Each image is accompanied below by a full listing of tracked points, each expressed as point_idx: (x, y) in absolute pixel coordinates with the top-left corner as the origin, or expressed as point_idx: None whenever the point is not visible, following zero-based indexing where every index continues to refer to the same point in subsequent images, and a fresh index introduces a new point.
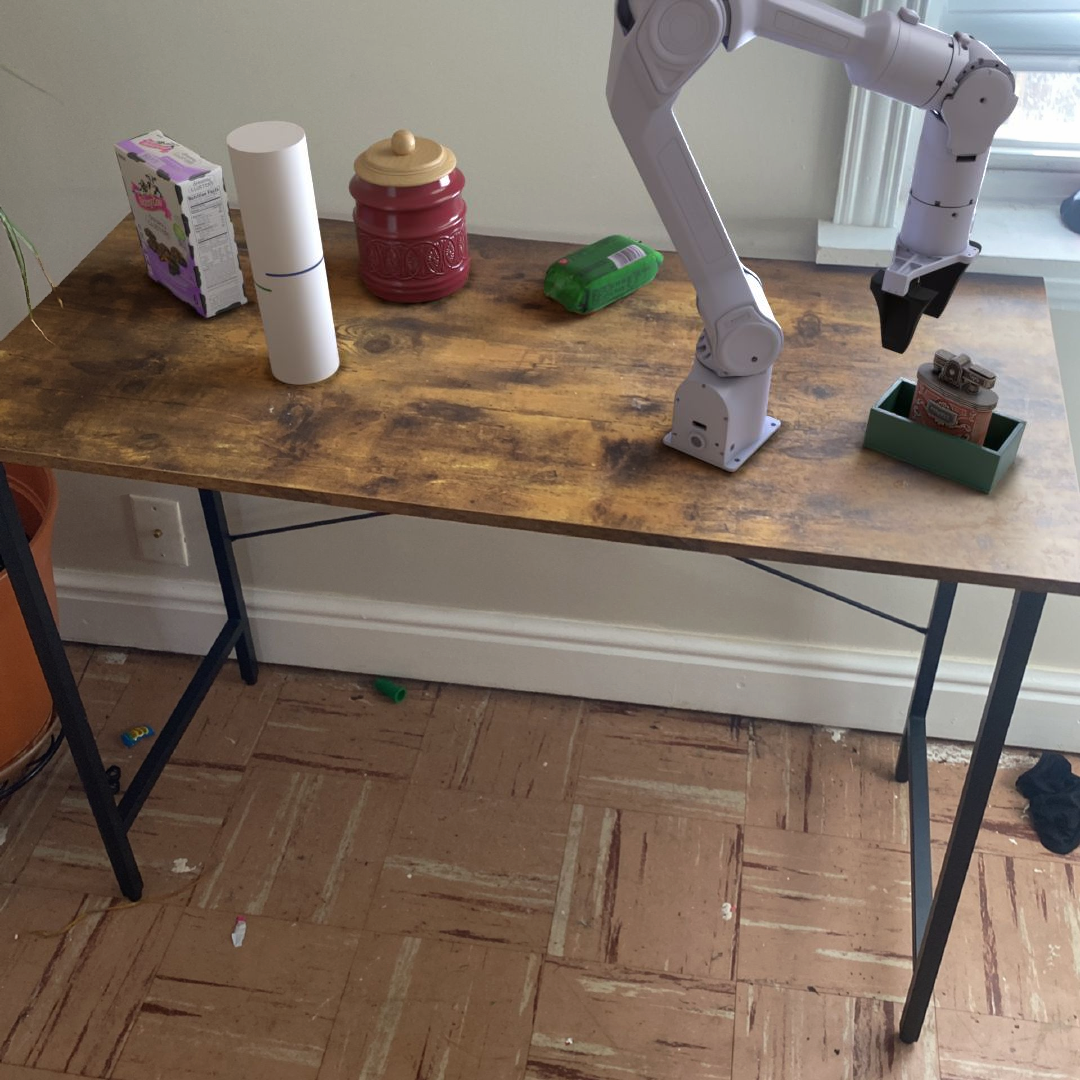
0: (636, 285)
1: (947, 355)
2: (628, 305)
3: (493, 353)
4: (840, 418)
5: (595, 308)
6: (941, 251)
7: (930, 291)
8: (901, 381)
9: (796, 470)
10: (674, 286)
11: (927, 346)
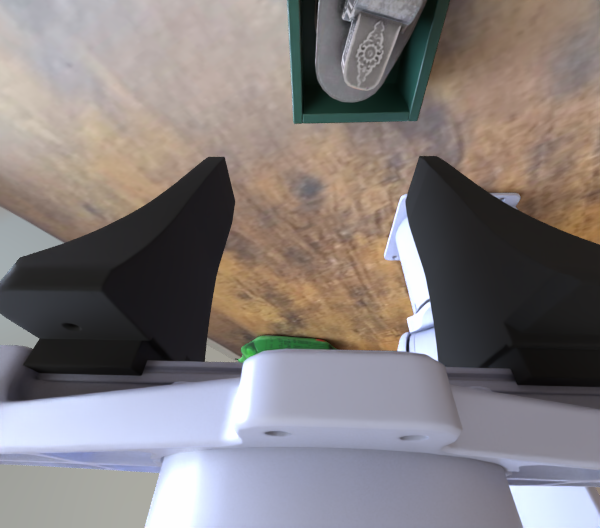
0: (280, 342)
1: (373, 46)
2: (292, 330)
3: (395, 349)
4: (348, 146)
5: (321, 343)
6: (515, 510)
7: (574, 302)
8: (306, 114)
9: (492, 138)
10: (245, 324)
11: (104, 130)
